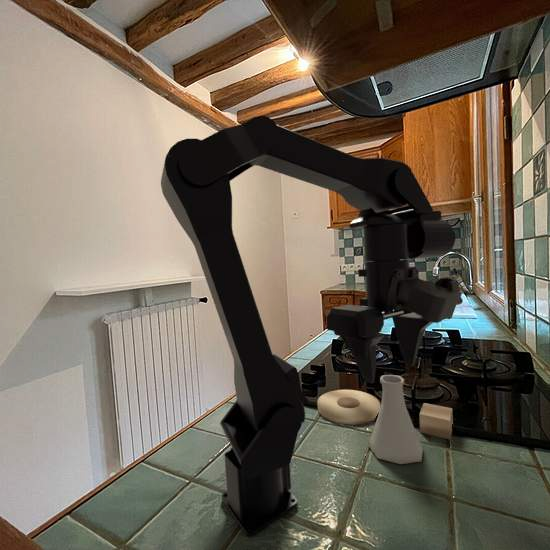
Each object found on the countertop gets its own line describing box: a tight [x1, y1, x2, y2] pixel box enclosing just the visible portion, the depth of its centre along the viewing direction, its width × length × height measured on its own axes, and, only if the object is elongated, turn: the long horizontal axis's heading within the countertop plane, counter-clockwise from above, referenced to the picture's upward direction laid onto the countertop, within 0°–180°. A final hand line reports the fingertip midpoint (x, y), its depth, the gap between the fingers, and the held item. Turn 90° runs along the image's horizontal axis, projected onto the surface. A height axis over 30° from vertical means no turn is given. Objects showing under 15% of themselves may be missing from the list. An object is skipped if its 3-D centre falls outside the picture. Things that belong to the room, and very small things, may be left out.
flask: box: [368, 374, 424, 465], centre depth 42 cm, size 7×7×10 cm
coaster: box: [317, 389, 381, 426], centre depth 54 cm, size 11×11×1 cm
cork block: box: [418, 402, 454, 440], centre depth 46 cm, size 4×4×3 cm
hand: (391, 373), depth 42 cm, fingers open, 9 cm apart
